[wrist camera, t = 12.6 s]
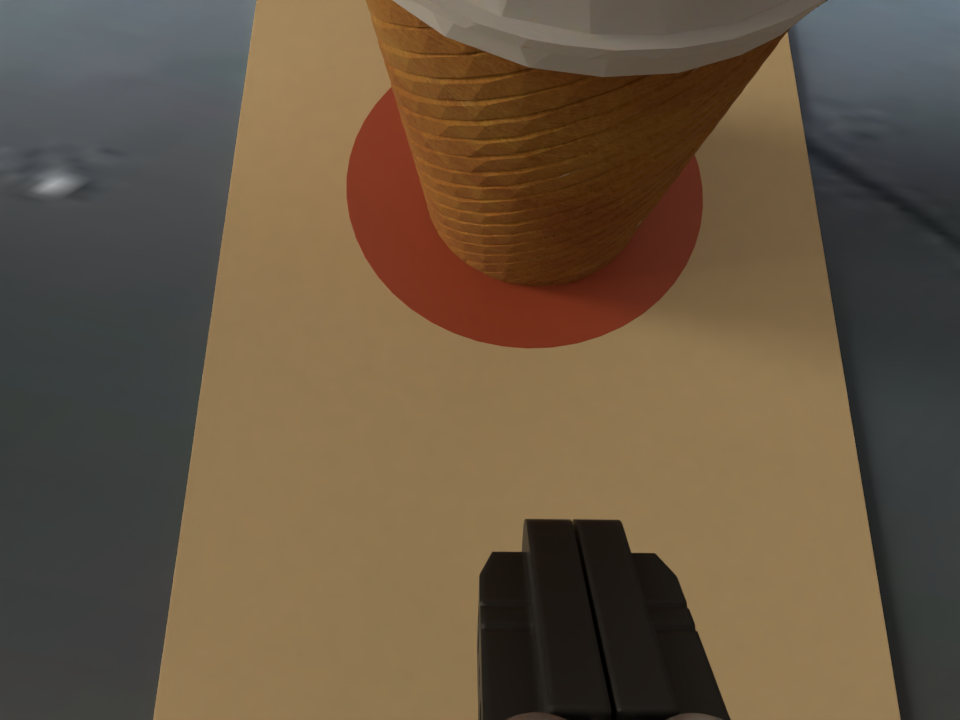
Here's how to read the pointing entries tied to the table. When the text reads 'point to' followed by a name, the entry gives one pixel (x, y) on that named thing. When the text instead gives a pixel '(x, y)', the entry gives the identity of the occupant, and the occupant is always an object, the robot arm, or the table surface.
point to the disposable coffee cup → (563, 115)
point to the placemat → (506, 415)
